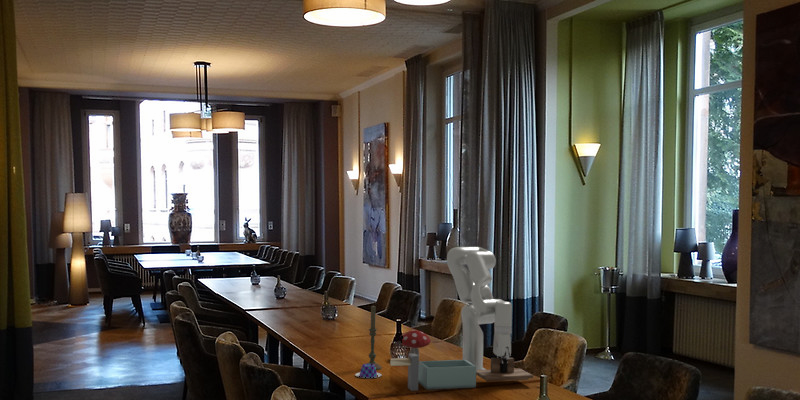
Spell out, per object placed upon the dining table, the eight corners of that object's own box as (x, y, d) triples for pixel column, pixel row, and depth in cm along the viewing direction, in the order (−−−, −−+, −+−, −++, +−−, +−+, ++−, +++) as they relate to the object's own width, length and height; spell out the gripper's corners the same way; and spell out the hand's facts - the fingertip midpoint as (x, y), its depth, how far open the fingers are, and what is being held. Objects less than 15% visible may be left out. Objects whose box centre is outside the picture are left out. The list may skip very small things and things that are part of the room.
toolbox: (402, 382, 323) (402, 349, 323) (465, 379, 330) (465, 347, 331) (411, 390, 309) (411, 356, 309) (476, 387, 316) (477, 354, 316)
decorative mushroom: (436, 360, 371) (437, 330, 371) (413, 364, 360) (413, 333, 360) (415, 355, 383) (415, 326, 383) (392, 358, 372) (392, 329, 372)
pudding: (377, 380, 327) (377, 368, 327) (351, 378, 330) (351, 366, 330) (384, 374, 339) (385, 363, 339) (359, 372, 342) (360, 361, 342)
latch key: (390, 364, 311) (390, 358, 311) (417, 363, 314) (417, 357, 314) (391, 365, 308) (391, 359, 308) (419, 364, 311) (419, 358, 311)
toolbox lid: (473, 375, 328) (474, 356, 328) (519, 373, 334) (520, 355, 334) (485, 382, 315) (485, 363, 315) (532, 380, 320) (533, 361, 320)
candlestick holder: (381, 366, 355) (382, 303, 355) (381, 370, 346) (383, 306, 346) (362, 365, 355) (363, 303, 355) (362, 370, 346) (363, 306, 346)
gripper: (488, 327, 332) (487, 368, 332) (501, 333, 317) (501, 376, 316) (503, 326, 334) (503, 367, 334) (518, 332, 319) (517, 375, 318)
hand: (502, 371), depth 325 cm, fingers closed on toolbox lid, 2 cm apart
